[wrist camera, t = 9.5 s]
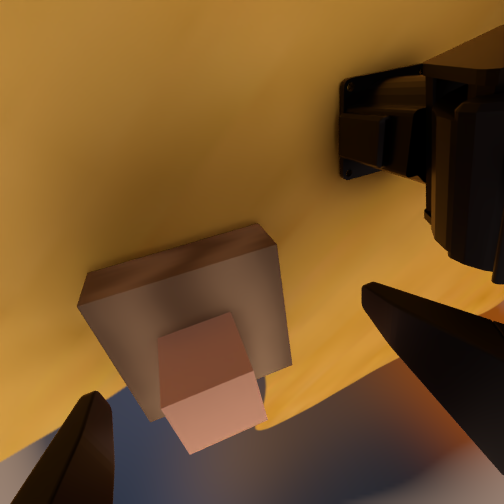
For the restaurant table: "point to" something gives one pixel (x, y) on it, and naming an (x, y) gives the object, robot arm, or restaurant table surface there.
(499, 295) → the restaurant table surface
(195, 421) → the terracotta cube
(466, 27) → the restaurant table surface
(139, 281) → the walnut block
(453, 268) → the restaurant table surface
